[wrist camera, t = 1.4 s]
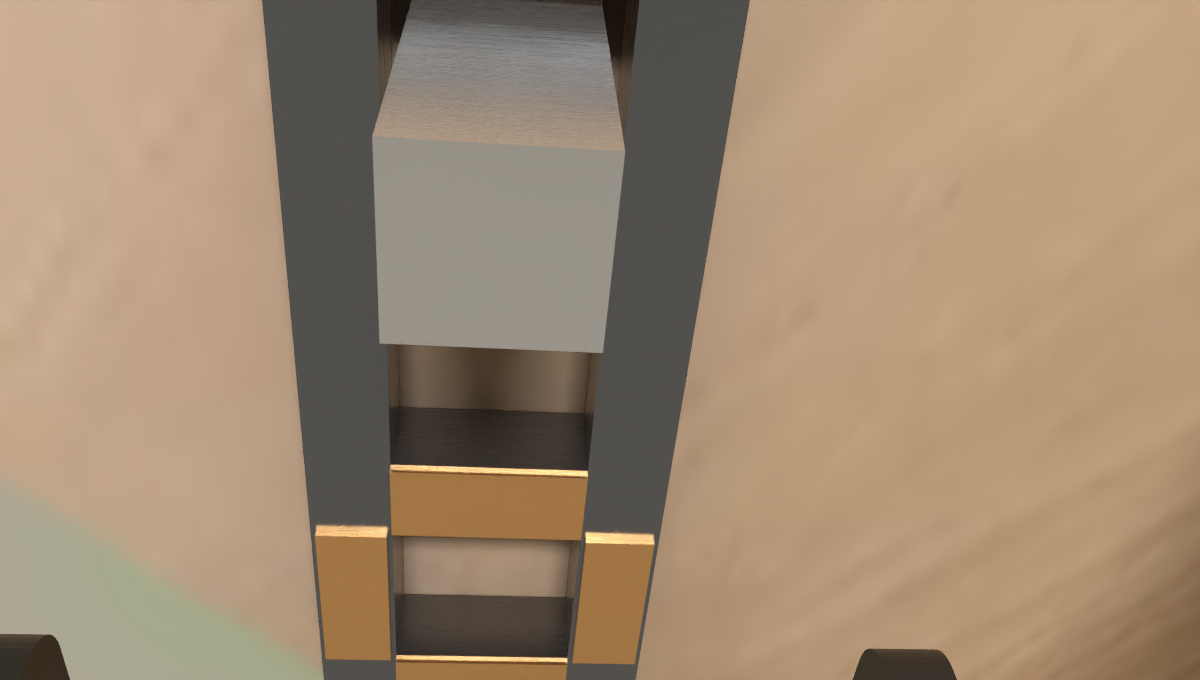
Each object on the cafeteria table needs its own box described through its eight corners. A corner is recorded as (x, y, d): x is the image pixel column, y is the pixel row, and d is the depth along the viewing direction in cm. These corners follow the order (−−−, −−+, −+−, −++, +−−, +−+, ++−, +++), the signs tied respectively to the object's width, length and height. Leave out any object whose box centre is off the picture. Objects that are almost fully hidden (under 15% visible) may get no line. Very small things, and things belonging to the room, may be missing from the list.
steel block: (598, -21, 25) (624, 151, 17) (584, 141, 27) (603, 353, 20) (421, -34, 24) (371, 136, 17) (422, 131, 27) (379, 343, 19)
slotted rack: (745, -126, 23) (768, -95, 21) (627, 633, 38) (633, 699, 36) (275, -165, 23) (247, -138, 20) (336, 628, 37) (324, 695, 35)
